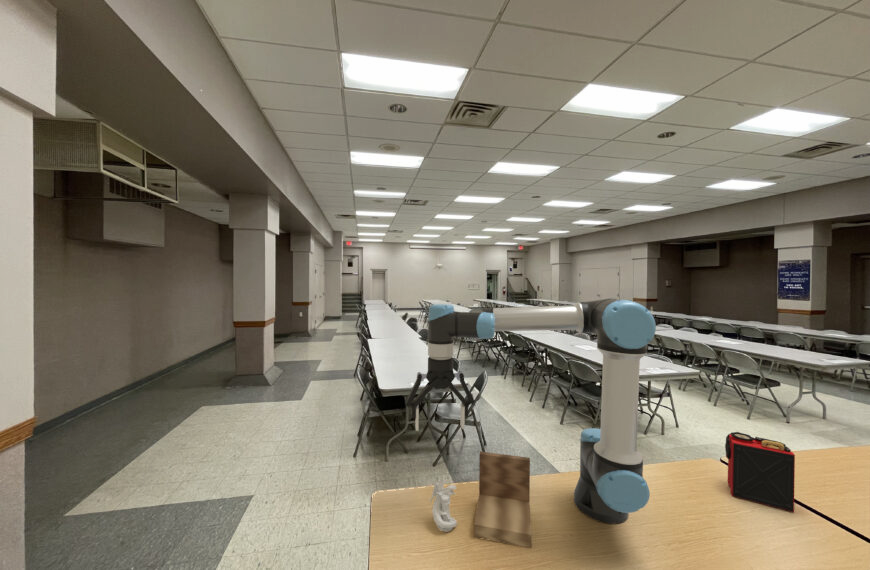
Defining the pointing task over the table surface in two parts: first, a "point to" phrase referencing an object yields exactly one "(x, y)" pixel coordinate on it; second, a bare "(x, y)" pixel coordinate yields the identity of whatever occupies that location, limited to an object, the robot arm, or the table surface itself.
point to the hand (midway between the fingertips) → (439, 428)
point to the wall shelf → (504, 499)
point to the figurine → (443, 506)
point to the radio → (760, 470)
